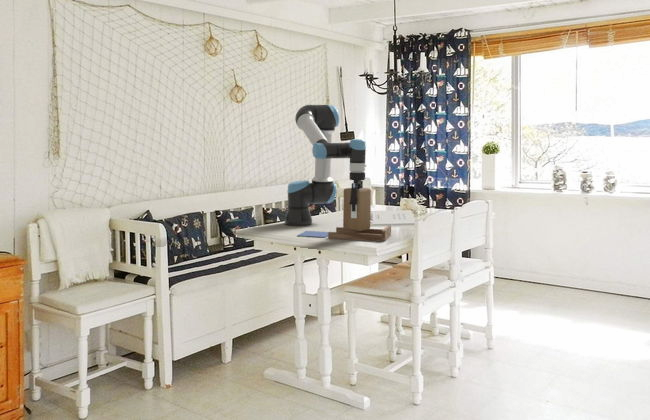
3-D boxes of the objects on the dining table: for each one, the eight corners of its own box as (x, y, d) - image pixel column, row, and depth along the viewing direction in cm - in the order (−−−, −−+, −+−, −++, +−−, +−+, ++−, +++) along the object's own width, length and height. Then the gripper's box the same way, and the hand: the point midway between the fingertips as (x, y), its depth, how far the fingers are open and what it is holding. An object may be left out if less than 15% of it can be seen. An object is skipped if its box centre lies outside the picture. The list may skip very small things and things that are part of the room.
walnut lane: (336, 232, 320) (336, 223, 320) (390, 235, 313) (391, 225, 312) (328, 238, 305) (328, 228, 305) (384, 241, 298) (384, 230, 297)
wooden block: (354, 226, 316) (354, 186, 313) (371, 229, 310) (371, 188, 307) (342, 229, 309) (342, 188, 306) (359, 231, 302) (359, 190, 300)
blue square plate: (306, 231, 324) (305, 230, 324) (332, 233, 320) (332, 232, 320) (297, 236, 311) (297, 235, 310) (324, 237, 307) (324, 236, 307)
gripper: (359, 173, 293) (359, 220, 296) (370, 170, 316) (369, 213, 319) (343, 173, 295) (343, 219, 298) (355, 169, 318) (355, 212, 321)
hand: (356, 216), depth 308 cm, fingers closed on wooden block, 12 cm apart
